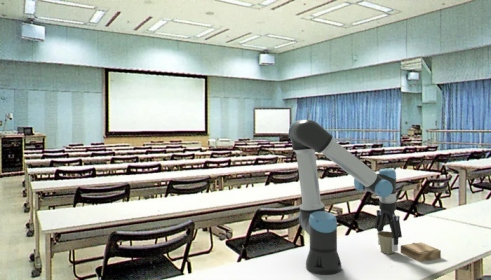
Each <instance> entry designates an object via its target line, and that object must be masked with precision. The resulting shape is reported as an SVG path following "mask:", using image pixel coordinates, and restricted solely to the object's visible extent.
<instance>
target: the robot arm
mask: <svg viewBox="0 0 491 280" xmlns="http://www.w3.org/2000/svg"><path fill="white" fill-rule="evenodd" d="M288 137H289V139H290V141H291V145H292V146H291V148H292V151H293V152H294V153H295V154H296V161H297V169H298V177H299V187H300V193H301V201H302V202H301V204H300V205H299V216H298V221H299V225H300V227H301V228H302V230H303V231H304V232H306V233H307V235H308V236H309V251H308V254H307V256H306V261H305V268H306V270H307V271H309V272H311V273H313V274H319V275H333V274H337V273H340V272H341V270H342V262H341V259H340V255H339V252H338V236H337V235H338V222H337V217H336V215H334V214H333V213H331V212H327V211H326V206H325V204H324V203H323V202H322V199H321V190H320V183H319V174H318V165H317V157H316V156H317V155H316V153H318V154H323V155H324V156H325V157H326V158H327V159H329V160H330V161H332V162H333V163H334V164H335V165H337V166H338V167H339V168H340V169H341V170H343V171H344V172H346V173H347V174H349V176H351V177H352V178H354V179H353V184H354V188H355V190H357V191H361V192H364V191H366V192H369V193H371V194H374V195H376V196H377V197H379V198H378V199H379V203H378V204H379V209H377V210H376V217H375V222H374V223H375V224H374V229H376V231H377V233H378V232H382V231H384V227H385V226H386V223H387V224H388V225H389V229H390V232H392V235H393V237H392V252H394V251H395V252H398V251H399V247H398V246H399V238H402V237H403V235H402V230H401V223H400V215H396V214H395V211H396V210H397V202H396V201H397V172H396V170H394V169H392V168H381V169H379V170H378V173H377V172H375V171H374V170H373V169H371V168H370V167H369V166H368V165H367V164H365V163H364V162H362V160H360V159H359V158H357V156H355V155H353V153H351V152H350V151H348V149H346V148H345V147H343V146H342V145H341V144H340V143H339V142H337V141H336V140H335V139H334V136H333V135H332V134H331V133H330V132H329V131H327V130H326V129H325V128H324V127H323V126H322V125H321V124H319V123H318V122H317V121H315V120H313V119H298V120H296V121H294V122H293V123H291V124H290V126H289V129H288ZM377 239H378V240H377V242H378V243H377V244H378V246H380V241H379V237H378V236H377ZM395 252H394V253H395Z"/></svg>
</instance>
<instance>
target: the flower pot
mask: <svg viewBox="0 0 491 280" xmlns="http://www.w3.org/2000/svg"><path fill="white" fill-rule="evenodd" d="M378 237H379V241H380V245H379V246H380V252H382V253H383V254H387V255H390V254H395V252H396V251H394V252H392V237H393V235H392V232H391V231H387V230H385V231H384V230H383V231H382V232H378V231H377V238H378Z"/></svg>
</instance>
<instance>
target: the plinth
mask: <svg viewBox="0 0 491 280" xmlns="http://www.w3.org/2000/svg"><path fill="white" fill-rule="evenodd" d="M412 243H413V244H412ZM412 243H408V244H400V253H401V254H403V255H405V256H407V257H409V258H411V259H413V260H415V261H417V262H425V261H430V260H436V259H437V260H438V259H441V257H442V256H441V255H442V254H441V249H438V248H436V247H433V246H431V245H428V244H426V243H424V242H412Z"/></svg>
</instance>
